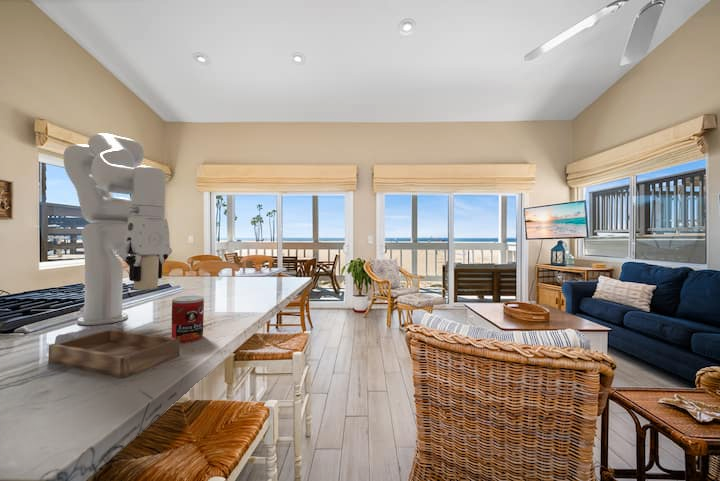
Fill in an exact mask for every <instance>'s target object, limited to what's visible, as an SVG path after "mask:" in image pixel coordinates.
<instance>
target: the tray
mask: <svg viewBox="0 0 720 481" xmlns="http://www.w3.org/2000/svg"><path fill="white" fill-rule="evenodd" d="M180 349H181V343H180V339H176V338H172V337H169V336H163V335H162V336H161V335H154V334H147V333H141V332H140V333H139V332H133V331H127V330H124V331H121V330H114V329H110V330H106V331H102V332H98V333H95V334H91V335H87V336H83V337H79V338H75V339H71V340H67V341H63V342H59V343H55V342H54V343H52V344H48V364H53V365H56V366H57V365H58V366H62V367H68V368H71V369H77V370H82V371H88V372H92V373H95V374H101V375H105V376H111V377H116V378H121V379H126V378H129V377H130V376H132V375H136V374H137V373H139V372H142V371H146V370H147V369H150V368H152V367H155V366H157V365H160V364H162V363H165V362H167V361H169V360H172V359H174V358H177V357H179V356H181V354H180V352H181V350H180Z"/></svg>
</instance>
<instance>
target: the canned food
mask: <svg viewBox="0 0 720 481" xmlns="http://www.w3.org/2000/svg"><path fill="white" fill-rule="evenodd" d="M204 300H205V299H204V296H202V295H181V296H175V297H174V298H172V299H171V334H170V335H171V337H170V338H176V339H180V344H182V343H191V342H195V341H196V342H197V341H199V340H200V339H202V338H203V335H204V315H205V314H204V312H205V311H204V310H205V308H204V307H205V303H204V302H205V301H204Z"/></svg>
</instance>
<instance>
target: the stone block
mask: <svg viewBox="0 0 720 481" xmlns="http://www.w3.org/2000/svg"><path fill="white" fill-rule="evenodd" d="M110 329H114V330H121V331H125V329H124V327H123V326H118V325H115V324H100V325H94V326H91V327H87V328H83V329H81V330H80V329H79V330H78V331H77V330H76V331H72V332H67V333H64V334H58V335H56V337H55V339H54V344H55V343H59V342H63V341H67V340H71V339H75V338H79V337H83V336H87V335H91V334H95V333H98V332H102V331H106V330H110Z"/></svg>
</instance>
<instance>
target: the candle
mask: <svg viewBox="0 0 720 481" xmlns="http://www.w3.org/2000/svg"><path fill="white" fill-rule="evenodd" d="M138 266H141V280H140V281H138V282H137V281H133V290H136V291H137V290H138V291H139V290H140V291H142V290H144V291H145V290H147V291H148V290H155V289H158V287H159V286H158V285H159V279H158V268H159V257H158V256H157V255H142V258H141V260H140V263H139V265H138Z"/></svg>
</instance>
